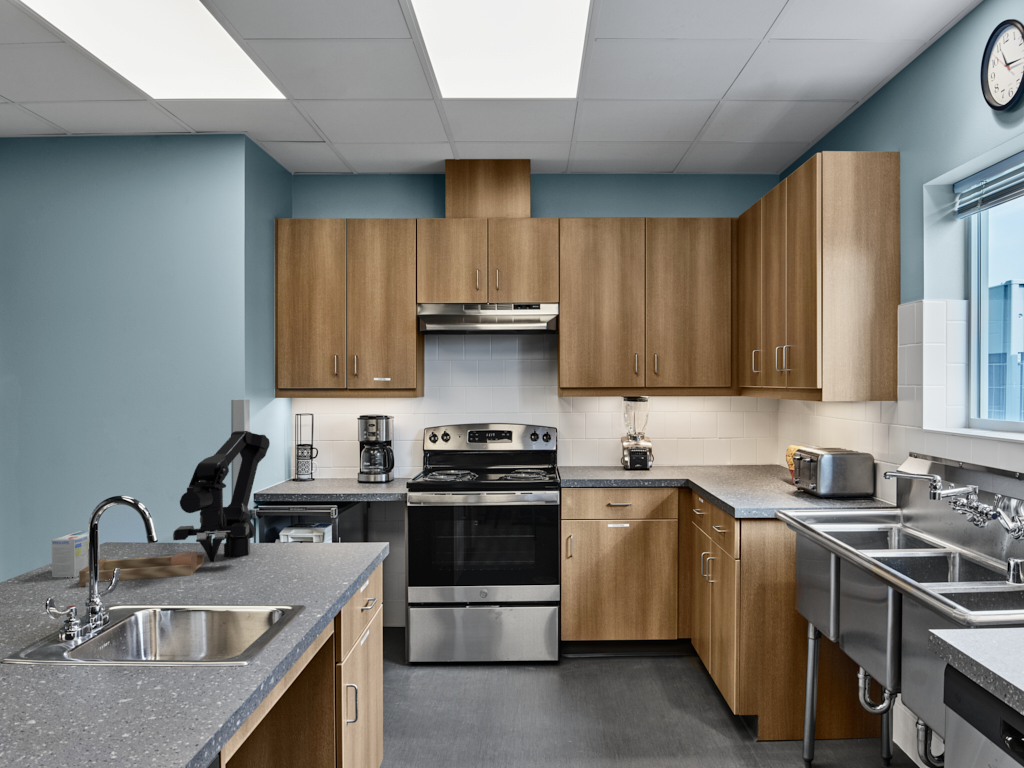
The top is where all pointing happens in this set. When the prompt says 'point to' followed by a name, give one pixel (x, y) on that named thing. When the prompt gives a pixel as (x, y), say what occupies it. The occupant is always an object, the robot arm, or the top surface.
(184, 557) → the terracotta block
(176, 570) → the frame
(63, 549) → the light bulb box
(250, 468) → the robot arm
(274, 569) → the top surface
